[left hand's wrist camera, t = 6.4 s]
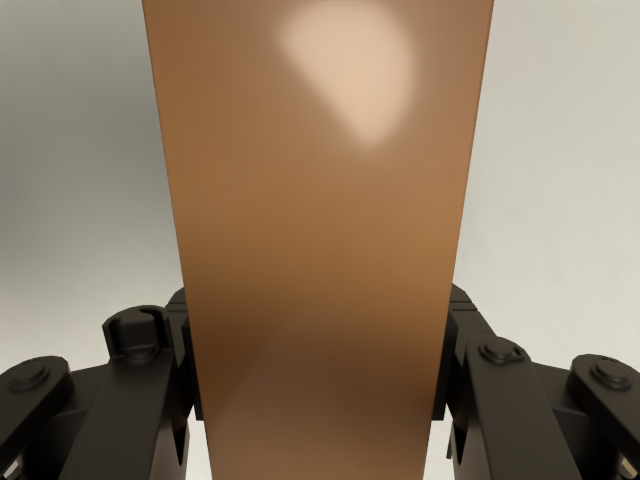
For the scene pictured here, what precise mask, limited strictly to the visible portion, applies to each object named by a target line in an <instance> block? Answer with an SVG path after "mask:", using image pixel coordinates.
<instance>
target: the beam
mask: <svg viewBox="0 0 640 480" xmlns="http://www.w3.org/2000/svg"><path fill="white" fill-rule="evenodd" d="M142 4H143V11H144V18H145V25H146V32H147V38H148V45H149V52H150V59H151V65H152V72H153V79H154V86H155V93H156V99H157V106H158V113H159V120H160V127H161V133H162V140H163V147H164V154H165V161H166V167H167V174H168V181H169V188H170V195H171V201H172V208H173V215H174V222H175V229H176V235H177V242H178V249H179V256H180V263H181V269H182V276H183V283H184V290H185V297H186V303H187V310H188V317H189V324H190V331H191V337H192V344H193V351H194V358H195V364H196V371H197V378H198V385H199V392H200V398H201V405H202V412H203V419H204V426H205V432H206V439H207V446H208V453H209V460H210V466H211V473H212V480H423V475H424V468H425V462H426V455H427V448H428V441H429V435H430V428H431V421H432V415H433V408H434V401H435V394H436V388H437V381H438V374H439V368H440V361H441V354H442V347H443V341H444V334H445V327H446V321H447V314H448V307H449V300H450V294H451V287H452V280H453V274H454V267H455V260H456V253H457V247H458V240H459V233H460V227H461V220H462V213H463V206H464V200H465V193H466V186H467V180H468V173H469V166H470V159H471V153H472V146H473V139H474V133H475V126H476V119H477V112H478V106H479V99H480V92H481V86H482V79H483V72H484V65H485V59H486V52H487V45H488V39H489V32H490V25H491V18H492V12H493V5H494V0H142Z"/></svg>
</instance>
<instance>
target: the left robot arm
mask: <svg viewBox="0 0 640 480" xmlns="http://www.w3.org/2000/svg"><path fill="white" fill-rule="evenodd" d="M102 328H103V332H104V336H105V340H106V344H107V348H108V351H109V355H110V359H109V362H108V364H104V365H100V366H96V367H91V368H87V369H82V370H77V371H72V372H71V371H70V368H69V365H68V362H67V361H66V360H65V359H64V358H62V357H58V356H44V357H37V358H33V359H29V360H26V361H24V362H22V363H20V364H18V365H16V366H14V367H11V368H10V369H8V370H7V371H5V372H4V373H2V374H1V375H0V480H185V477H186V467H187V457H188V448H189V438H190V433H189V427H188V421H187V419H188V417H189V414H190V412H191V409H192V407H193V404H194V409H195V416H196V421H204V419H203V412H202V405H201V398H200V392H199V385H198V378H197V371H196V364H195V358H194V351H193V344H192V337H191V331H190V324H189V317H188V310H187V303H186V297H185V290H184V287H183V288H181V289H180V290H178V291H177V292H175V294H174V295H173V296H172V298H171V299H170V301H169V302H168V304H167V305H166V306H165V308H163V307H159V306H155V305H141V306H136V307H131V308H128V309H125V310H123V311H120V312H118V313H116V314H115V315H113V316H111V317H110V318H108V319H107V320H106V321H105V323H104V324H103V325H102ZM446 403H447V405H448V408H449V410H450V413H451V415H452V418H453V421H452V427H451V433H450V438H449V444H448V450H447V456H446V458H447V459H451V457H452V456H453V466H454V476H455V480H640V373H639V372H638V371H636V370H635V369H633V368H632V367H630V366H628V365H626V364H624V363H622V362H620V361H618V360H616V359H613V358H609V357H606V356H602V355H594V354H585V355H578V356H577V357H576V358H575V359H573V361H572V364H571V367H570V370H566V369H561V368H556V367H552V366H547V365H542V364H538V363H535V362H532V361H531V359H530V357H529V355H528V354H527V353H526V351H525V350H524V349H523V348H521V347H520V346H519V345H517V344H516V343H514V342H512V341H510V340H507V339H505V338H502V337H498V336H496V334H495V333H494V332H493V330H492V329H491V327H490V326H489V325H488V323H487V322H486V320H485V319H484V318H483V316H482V315H481V313H480V312H479V311H478V309H477V308H476V306H475V305H474V304H473V303H472V301H471V299H470V298H469V297H468V295H467V294H466V292H465V291H463V290H462V289H460V288H459V287H457V286H456V285H454V284H453V283H452V287H451V294H450V300H449V307H448V314H447V321H446V327H445V334H444V341H443V347H442V354H441V361H440V368H439V374H438V381H437V388H436V394H435V401H434V408H433V415H432V421H443V420H444V414H445V408H446ZM624 458H625V459H626V460H627V461H628V462H629V464H630V465H631V466H632V467H633V468H634V470H635V471H636V472H637V475H636V476H635V477H634V476H633V475H632V474H631V473H630V472H629V471H628V470H627V469H626V468H625V467H624V465H623V464H622V462H623V460H624ZM15 460H17V463H18V466H17V467H16V469H15V470H14V471H13V472H12V473H11V474H10V475H9V476H8V477H7V478H5V477H4V473H5V472H6V471H7V470H8V468H9V467H10V466H11V465H12V464H13V462H14V461H15Z"/></svg>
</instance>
